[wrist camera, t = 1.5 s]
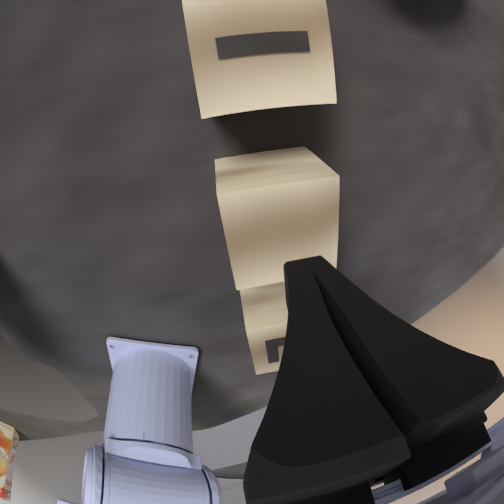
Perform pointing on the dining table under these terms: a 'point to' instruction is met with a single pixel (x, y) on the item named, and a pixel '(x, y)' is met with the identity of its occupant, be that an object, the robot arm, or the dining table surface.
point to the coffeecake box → (7, 458)
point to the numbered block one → (259, 54)
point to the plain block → (276, 212)
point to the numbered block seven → (265, 324)
